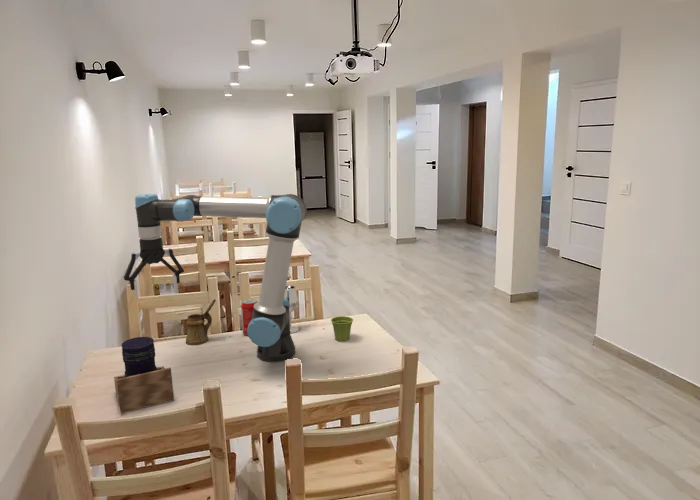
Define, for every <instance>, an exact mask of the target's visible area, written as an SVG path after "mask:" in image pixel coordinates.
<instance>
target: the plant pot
mask: <svg viewBox="0 0 700 500" xmlns="http://www.w3.org/2000/svg"><path fill="white" fill-rule="evenodd" d="M330 322H331V324H332V328H333V333H334V339H335V340H336V341H338V342H346V341H349V340H350V338H351V337H350V336H351V330H352V324H353V322H354V318H352V317H350V316H345V315H341V316H334V317H332V318H331V319H330Z"/></svg>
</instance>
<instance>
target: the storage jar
mask: <svg viewBox="0 0 700 500" xmlns="http://www.w3.org/2000/svg"><path fill="white" fill-rule="evenodd" d="M121 351H122V352H121V355H122V362H123V363H124V374H123V375H125V377H129V376H134V375H138V374H143V373H147V372H152V371H156V370H157V367H158V366H156V348H155V341H154V339H153V337H150V336H139V337H138V336H137V337H133V338H130V339H127V340H125V341H123V342H122V343H121Z"/></svg>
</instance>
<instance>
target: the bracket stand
mask: <svg viewBox="0 0 700 500" xmlns="http://www.w3.org/2000/svg"><path fill="white" fill-rule="evenodd" d="M156 367H157V370H156V371H152V372H147V373H143V374H138V375H134V376H129V377H125V375H124V374H122V375H116V376H114V377H113V382H114V389H115V395H116V401H117V403H118V408H119V411H120V414H123V413H126V412H131V411H135V410H138V409H143V408H146V407H151V406H154V405H159V404H162V403H163V404H164V403H166V402H170V401H174V400H175V396H174V386H173V376H172V375H173V374H172V367H166V368H165V367H164V366H159V367H158V366H156Z"/></svg>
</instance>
